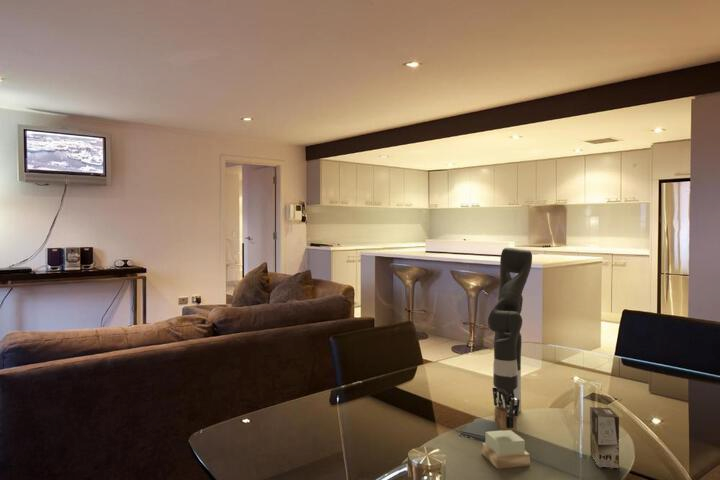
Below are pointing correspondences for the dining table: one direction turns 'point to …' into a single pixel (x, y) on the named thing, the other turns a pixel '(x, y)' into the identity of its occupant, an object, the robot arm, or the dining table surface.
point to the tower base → (505, 458)
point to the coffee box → (604, 436)
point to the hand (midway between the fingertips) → (505, 424)
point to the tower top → (504, 442)
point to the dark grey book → (479, 429)
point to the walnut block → (503, 419)
